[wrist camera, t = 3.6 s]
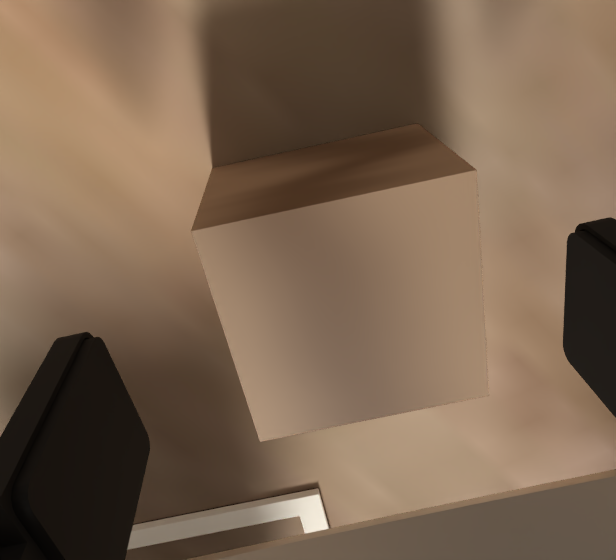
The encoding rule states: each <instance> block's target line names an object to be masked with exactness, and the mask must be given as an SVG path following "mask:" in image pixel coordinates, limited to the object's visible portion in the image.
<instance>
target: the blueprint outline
mask: <svg viewBox="0 0 616 560" xmlns="http://www.w3.org/2000/svg"><path fill="white" fill-rule="evenodd" d="M296 516H300V519H301V522H302V525H303V528H304V532H305V534H306V533H311V532H316V531H320V530H325V529H330V528H329V525H328V521H327V518H326V514H325V510H324V507H323V503H322V499H321V496H320V492H319V489H318V488H317V489H312V490H307V491H302V492H297V493H292V494H287V495H282V496H277V497H272V498H267V499H262V500H257V501H252V502H247V503H241V504H236V505H231V506H226V507H221V508H216V509H211V510H206V511H201V512H196V513H191V514H186V515H181V516H176V517H171V518H166V519H161V520H156V521H151V522H146V523H141V524H136V525H133V526H132V531H131V535H130V539H129V544H128V548H127V550H129V549H134V548H139V547H144V546H149V545H154V544H159V543H164V542H169V541H174V540H179V539H184V538H189V537H195V536H200V535H205V534H210V533H215V532H220V531H225V530H230V529H235V528H240V527H245V526H250V525H256V524H261V523H266V522H271V521H276V520H281V519H286V518H291V517H296Z"/></svg>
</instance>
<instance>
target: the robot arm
mask: <svg viewBox="0 0 616 560" xmlns="http://www.w3.org/2000/svg"><path fill="white" fill-rule="evenodd" d="M563 348H564V352H565V355H566V357H567V360H568V361H569V362H570V364H571V365H572V366H573V367H574V369H575V370H576V371H577V372H578V373H579V374H580V376H581V377H582V378H583V379H584V380H585V382H586V383H587V384H588V385H589V386H590V388H591V389H592V390H593V391H594V392H595V393H596V395H597V396H598V397H599V398H600V399H601V401H602V402H603V403H604V404H605V405H606V407H607V408H608V409H609V410H610V411H611V413H612V414H613V415H614V416H615V417H616V220H615V219H613V218H611V217H610V218H605V219H600V220H596V221H591V222H586V223H582V224H579V225H578V226H577V227H576V230H575V233H571V234H570V235H569V236H568V240H567V257H566V282H565V306H564V331H563ZM149 451H150V443H149V437H148V434H147V432H146V429H145V427H144V425H143V423H142V421H141V419H140V417H139V415H138V413H137V411H136V409H135V406H134V404H133V402H132V400H131V398H130V396H129V394H128V392H127V390H126V388H125V385H124V383H123V381H122V379H121V377H120V375H119V373H118V371H117V369H116V367H115V364H114V362H113V360H112V358H111V356H110V354H109V352H108V350H107V348H106V346H105V343H104V342H103V340H102V339H101V338H100V337H95V338H93V336H92V335H91V334H90V333H88V332H84V333H79V334H75V335H70V336H66V337H61V338H58V339H56V341H55V342H54V343H53V345H52V347H51V349H50V350H49V352H48V354H47V356H46V358H45V359H44V361H43V363H42V365H41V366H40V368H39V370H38V372H37V373H36V375H35V377H34V379H33V380H32V382H31V384H30V386H29V387H28V389H27V391H26V393H25V395H24V396H23V398H22V400H21V402H20V403H19V405H18V407H17V409H16V410H15V412H14V414H13V416H12V417H11V419H10V421H9V423H8V425H7V426H6V428H5V430H4V432H3V433H2V435H1V437H0V560H125V557H126V553H127V548H128V544H129V539H130V535H131V531H132V526H133V522H134V517H135V513H136V509H137V504H138V500H139V495H140V491H141V487H142V482H143V478H144V474H145V469H146V465H147V460H148V456H149ZM185 560H616V469H615V470H610V471H605V472H600V473H595V474H590V475H585V476H581V477H576V478H571V479H566V480H561V481H556V482H551V483H546V484H541V485H536V486H531V487H527V488H522V489H517V490H512V491H507V492H502V493H497V494H492V495H487V496H483V497H478V498H473V499H468V500H463V501H459V502H454V503H449V504H444V505H439V506H435V507H430V508H425V509H420V510H415V511H411V512H406V513H401V514H396V515H392V516H387V517H382V518H377V519H373V520H368V521H363V522H358V523H354V524H349V525H344V526H339V527H335V528H330V529H325V530H320V531H316V532H311V533H306V534H301V535H297V536H292V537H287V538H283V539H278V540H274V541H269V542H264V543H260V544H255V545H250V546H246V547H241V548H236V549H232V550H227V551H222V552H218V553H213V554H209V555H204V556H199V557H195V558H190V559H185Z"/></svg>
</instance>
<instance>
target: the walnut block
mask: <svg viewBox="0 0 616 560" xmlns="http://www.w3.org/2000/svg"><path fill="white" fill-rule="evenodd" d="M191 233H192V236H193V239H194V242H195V245H196V248H197V251H198V254H199V257H200V260H201V263H202V266H203V269H204V272H205V276H206V279H207V282H208V285H209V288H210V291H211V294H212V297H213V300H214V303H215V306H216V309H217V312H218V315H219V318H220V321H221V324H222V327H223V331H224V334H225V337H226V340H227V343H228V346H229V349H230V352H231V355H232V358H233V361H234V364H235V367H236V370H237V373H238V376H239V379H240V382H241V386H242V389H243V392H244V395H245V398H246V401H247V404H248V407H249V410H250V413H251V416H252V419H253V422H254V425H255V428H256V431H257V434H258V437H259V441H260V442H261V441H266V440H271V439H276V438H281V437H286V436H291V435H296V434H301V433H306V432H311V431H316V430H321V429H326V428H331V427H336V426H341V425H346V424H351V423H356V422H361V421H366V420H371V419H376V418H381V417H386V416H391V415H396V414H401V413H406V412H411V411H416V410H420V409H425V408H430V407H435V406H440V405H445V404H450V403H455V402H460V401H465V400H470V399H475V398H480V397H485V396H489V384H488V366H487V348H486V330H485V313H484V295H483V277H482V259H481V241H480V223H479V205H478V187H477V170H476V169H475V168H473V167H472V166H471V165H470V164H468V163H467V162H466V161H465V160H463V159H462V158H461V157H460V156H458V155H457V154H456V153H454V152H453V151H452V150H451V149H449V148H448V147H447V146H446V145H444V144H443V143H442V142H441V141H439V140H438V139H437V138H436V137H434V136H433V135H432V134H430V133H429V132H428V131H427V130H425V129H424V128H423V127H422V126H420V125H419V124H418V123H416V124H412V125H407V126H402V127H398V128H393V129H389V130H384V131H380V132H375V133H370V134H366V135H361V136H357V137H352V138H348V139H343V140H338V141H334V142H329V143H325V144H320V145H316V146H311V147H306V148H302V149H297V150H293V151H288V152H283V153H279V154H274V155H270V156H265V157H261V158H256V159H251V160H247V161H242V162H238V163H233V164H229V165H224V166H219V167H215V168H212V171H211V174H210V177H209V180H208V183H207V186H206V189H205V192H204V194H203V197H202V200H201V203H200V206H199V209H198V212H197V215H196V218H195V221H194V224H193V227H192V230H191Z"/></svg>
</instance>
